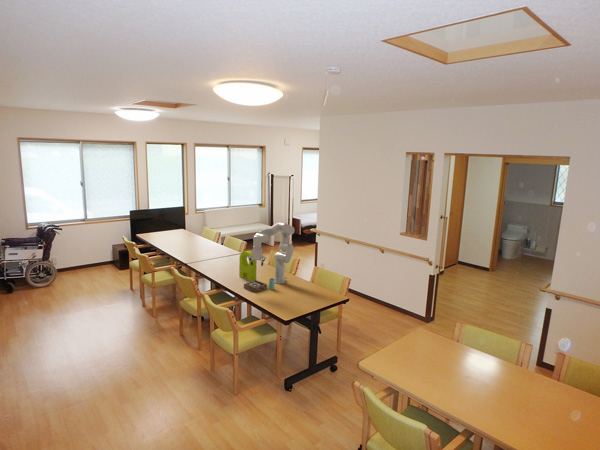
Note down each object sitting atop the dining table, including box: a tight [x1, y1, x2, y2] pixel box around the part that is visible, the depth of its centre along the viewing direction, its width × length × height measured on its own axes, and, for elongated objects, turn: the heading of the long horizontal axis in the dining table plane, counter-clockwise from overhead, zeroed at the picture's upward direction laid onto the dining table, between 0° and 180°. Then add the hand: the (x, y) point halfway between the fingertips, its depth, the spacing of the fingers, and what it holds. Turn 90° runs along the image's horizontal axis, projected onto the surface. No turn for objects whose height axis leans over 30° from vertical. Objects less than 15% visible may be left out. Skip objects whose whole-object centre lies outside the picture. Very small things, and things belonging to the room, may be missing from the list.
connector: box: [268, 277, 275, 291], centre depth 371 cm, size 4×4×11 cm
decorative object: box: [238, 250, 258, 282], centre depth 397 cm, size 20×7×30 cm, turn 47°
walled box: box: [243, 279, 268, 293], centre depth 371 cm, size 16×16×4 cm
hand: (256, 265), depth 360 cm, fingers open, 9 cm apart
